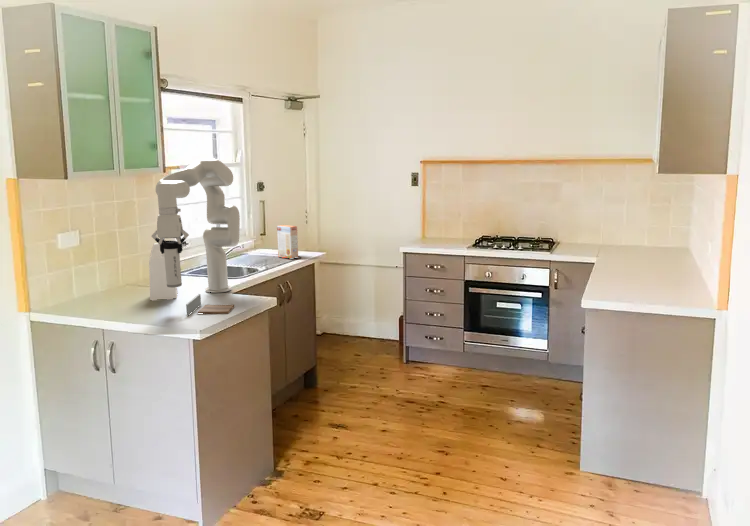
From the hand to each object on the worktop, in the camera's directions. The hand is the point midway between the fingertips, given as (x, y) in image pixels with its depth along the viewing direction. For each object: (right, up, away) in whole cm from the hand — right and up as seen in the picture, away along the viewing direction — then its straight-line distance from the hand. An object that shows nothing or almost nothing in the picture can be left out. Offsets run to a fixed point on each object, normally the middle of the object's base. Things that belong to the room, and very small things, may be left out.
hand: (171, 252), depth 289 cm
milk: (-13, -21, +33) cm, 41 cm away
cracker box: (+32, -2, +139) cm, 143 cm away
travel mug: (0, -15, +3) cm, 15 cm away
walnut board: (+18, -25, +4) cm, 31 cm away
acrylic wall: (+8, -25, +5) cm, 27 cm away
